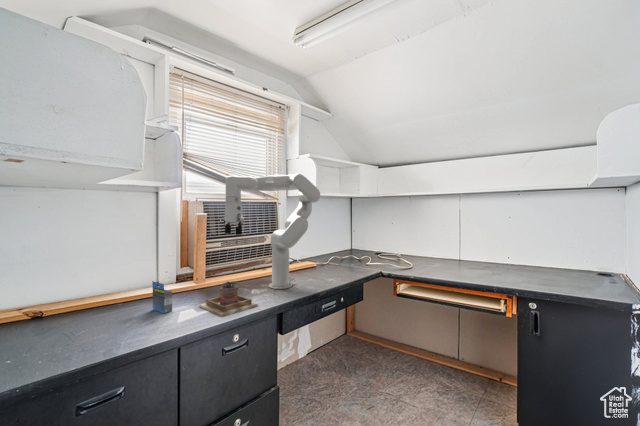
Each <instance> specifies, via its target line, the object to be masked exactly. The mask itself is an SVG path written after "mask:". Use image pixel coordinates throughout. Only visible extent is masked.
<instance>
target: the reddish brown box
mask: <svg viewBox="0 0 640 426" xmlns="http://www.w3.org/2000/svg"><path fill="white" fill-rule="evenodd" d="M237 284H238V282H237V280H233V281H232V280H231V281H228V280H227V281H226V282H222V287H219V297H220V304H221V305H223V306H226V305H229V304H233V303H237V302H238V295H239V286H238V285H237Z"/></svg>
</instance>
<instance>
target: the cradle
mask: <svg viewBox="0 0 640 426" xmlns="http://www.w3.org/2000/svg"><path fill="white" fill-rule="evenodd" d="M205 301H206V302H204V303H201V304H200V303H199V308H202V309H204V310H206V311H208V312H211V313H213V314H214V313H215V315H217V316H218V317H221V316H222V317H225V315H226V316H228V314H229V315H231V314H234V313H235V312H236V313H238V311H239V312H242V310H243V311H246V310H249V309H253V308H256V307H258V306H259V304H258V303H257V302H254V301H253V300H252V298H249V297H246V296H243V295H241V294H238V302H237V303H233V304H229V305H226V306H223V305H221V304H220V296H216V297H212V298H209V299H206V300H205ZM245 309H246V310H245ZM236 313H235V314H236Z"/></svg>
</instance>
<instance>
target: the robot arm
mask: <svg viewBox="0 0 640 426" xmlns="http://www.w3.org/2000/svg"><path fill="white" fill-rule="evenodd" d="M294 190H295V191H296V190H297V191H298V194H297V197H298V206H297V207H296V208H295V210H294V211H293V212H292V213H291V214H290V216H289V217H288V218H286V220H285V222H284V228H285V229H276V230H274V231H273V232H272V234H271V236H270V244H271V245H270V246H271V283H269V284H268V287H269V288H271V289H273V290H274V289H275V290H284V289H289V288H291V287H292V286H293V284H292V283H291V282H293V281H296V277H294V276H293V277H290V249H292V248H293V247H294V246H295V245H296V244H297V243H298V241H300V239H301V238H302V237H303V236H304V235H305V233H306V232H307V230H308V227H309V221H308V219H309V217H310V215H311V214H312V211H313V204H314V203H317V202H318V201H320V198H321V192H320V190H319V189H318V187H316V186H315V185H314V183H312V182H311V181H310V180H309V179H308V178H307V177H306V176H305V175H303V174H301V173H295V174H273V175H272V174H271V175H267V176H261V177H260V176H259V177H253V176H252V175H251V176H250V175H249V176H238V175H228V176H226V177H225V206H224V216H223V217H222V219H223V223H224V224H223V225H224V233H225V234H232V225H231V224H232V223H233V224H234V225H236V226H235V235H237V236H239V235H240V236H241V235H243V229H242V228H243V224H244V220H245V217H244V213H243V211H244V210H243V205H242V199H241V198H242V192H263V191H265V192H275V191H294Z"/></svg>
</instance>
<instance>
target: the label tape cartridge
mask: <svg viewBox="0 0 640 426" xmlns="http://www.w3.org/2000/svg"><path fill="white" fill-rule="evenodd" d="M151 284H152V310H153V311H156V312H159V313H162V314H167V313H171V312H172V311H173V291H170V290H167V289H165V286H164V285H165V284H164V283H161V282H157V281H152V283H151Z"/></svg>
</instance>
